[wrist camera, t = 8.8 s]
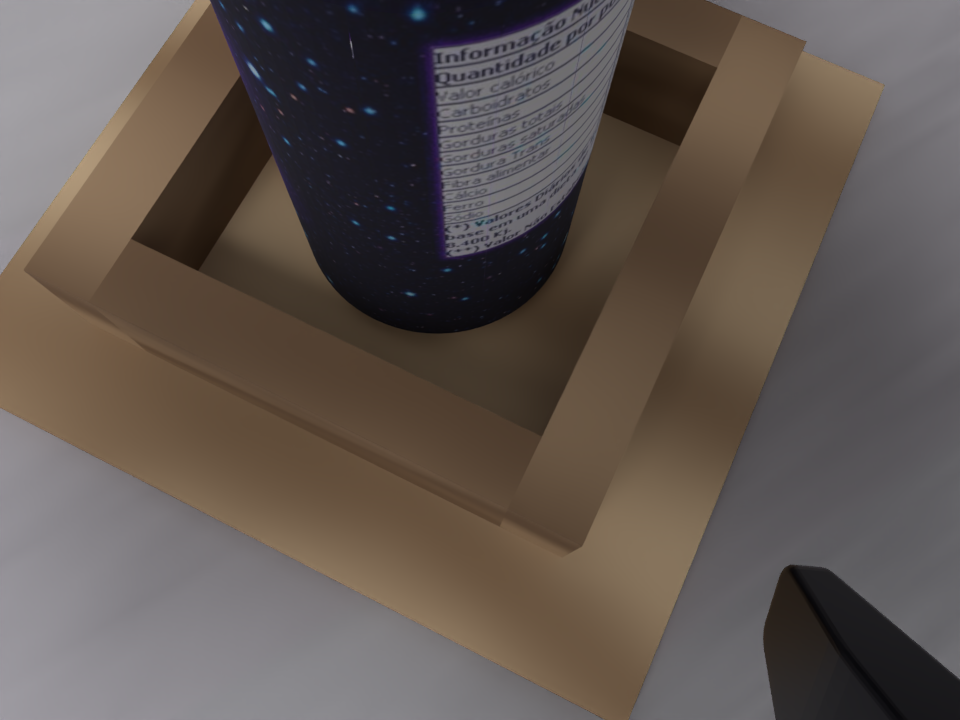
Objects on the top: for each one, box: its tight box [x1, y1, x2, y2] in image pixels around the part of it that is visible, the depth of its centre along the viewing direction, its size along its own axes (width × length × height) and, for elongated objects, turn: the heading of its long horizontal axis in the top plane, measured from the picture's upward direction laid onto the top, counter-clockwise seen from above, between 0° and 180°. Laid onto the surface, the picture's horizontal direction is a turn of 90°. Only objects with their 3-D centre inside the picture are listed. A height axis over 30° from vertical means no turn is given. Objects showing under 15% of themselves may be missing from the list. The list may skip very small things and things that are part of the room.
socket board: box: [0, 0, 885, 720], centre depth 18 cm, size 16×16×4 cm
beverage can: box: [210, 0, 635, 334], centre depth 13 cm, size 6×6×12 cm
